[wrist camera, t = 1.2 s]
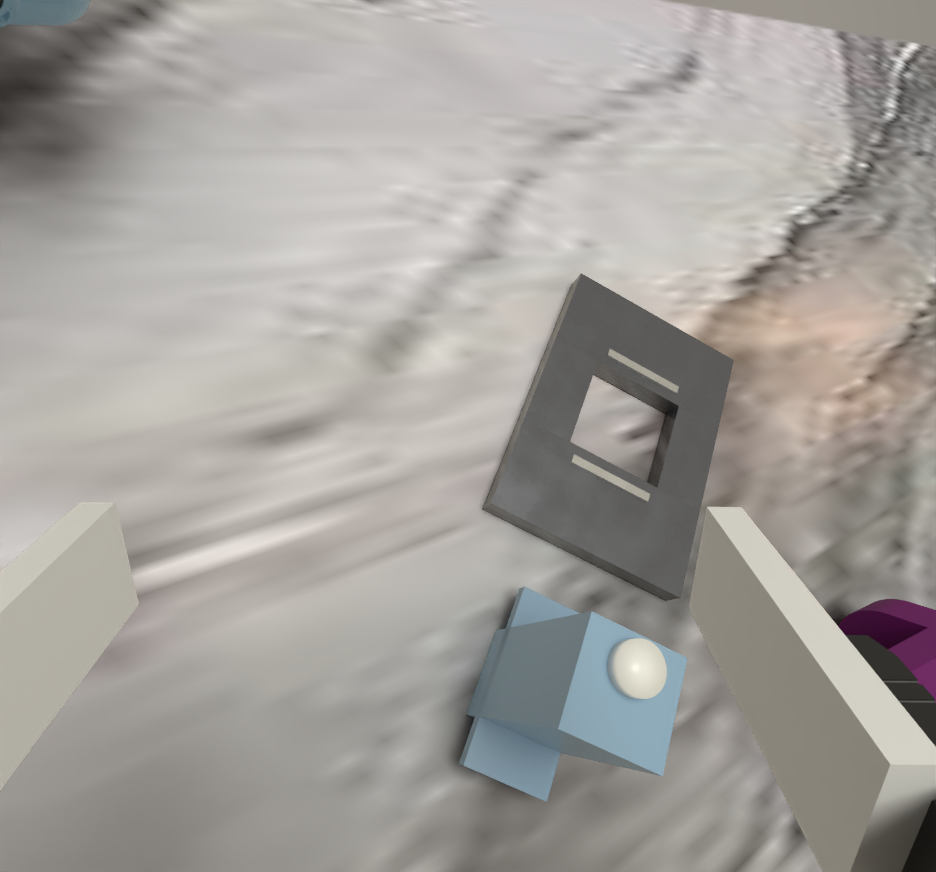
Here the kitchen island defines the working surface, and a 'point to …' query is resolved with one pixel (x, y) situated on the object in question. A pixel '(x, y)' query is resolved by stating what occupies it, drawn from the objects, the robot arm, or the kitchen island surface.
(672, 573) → the plate
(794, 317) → the kitchen island surface
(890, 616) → the mounting bracket
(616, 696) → the block
